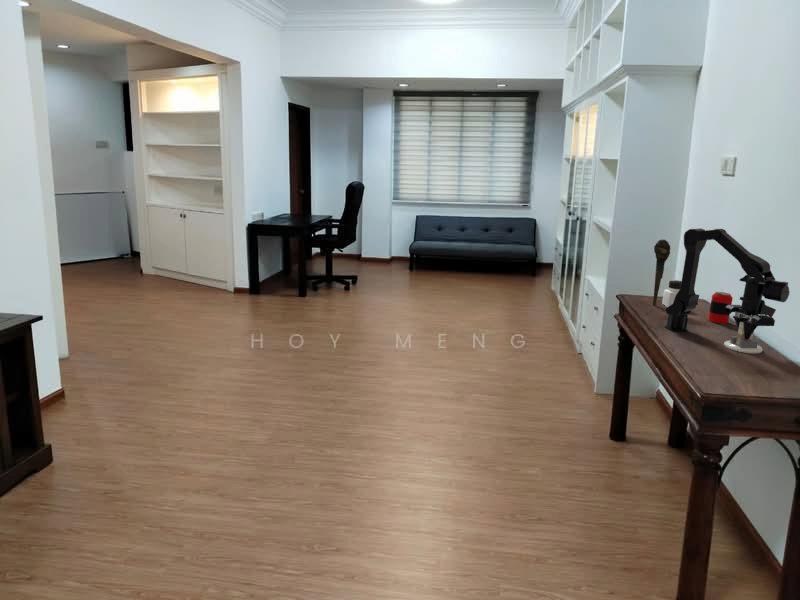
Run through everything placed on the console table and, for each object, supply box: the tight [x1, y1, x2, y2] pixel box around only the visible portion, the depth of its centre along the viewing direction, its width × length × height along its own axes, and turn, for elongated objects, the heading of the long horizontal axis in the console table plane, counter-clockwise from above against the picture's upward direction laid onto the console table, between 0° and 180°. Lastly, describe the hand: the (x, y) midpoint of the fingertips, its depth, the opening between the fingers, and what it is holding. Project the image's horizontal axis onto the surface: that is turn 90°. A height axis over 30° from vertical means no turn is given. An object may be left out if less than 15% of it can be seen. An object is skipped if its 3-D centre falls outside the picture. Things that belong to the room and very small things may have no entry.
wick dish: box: [723, 335, 763, 354], centre depth 215 cm, size 12×12×4 cm
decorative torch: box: [652, 239, 671, 306], centre depth 270 cm, size 7×7×30 cm
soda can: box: [707, 291, 733, 325], centre depth 249 cm, size 8×8×12 cm
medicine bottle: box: [661, 279, 682, 308], centre depth 272 cm, size 7×7×12 cm
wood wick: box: [736, 322, 755, 345], centre depth 214 cm, size 4×2×8 cm, turn 97°
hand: (744, 338), depth 214 cm, fingers closed on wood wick, 2 cm apart
